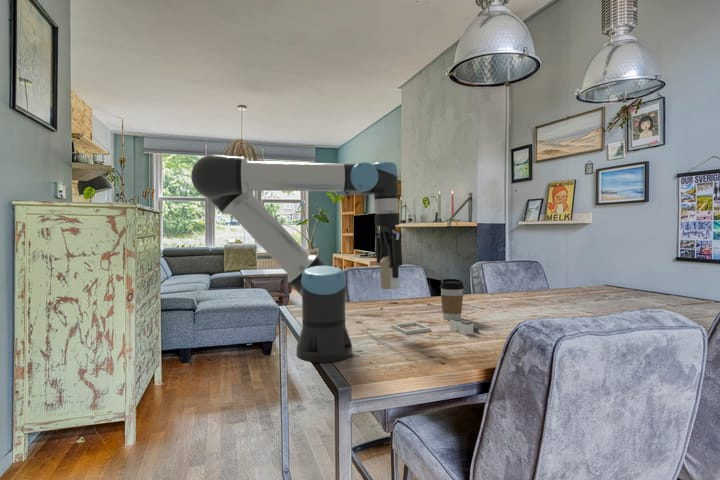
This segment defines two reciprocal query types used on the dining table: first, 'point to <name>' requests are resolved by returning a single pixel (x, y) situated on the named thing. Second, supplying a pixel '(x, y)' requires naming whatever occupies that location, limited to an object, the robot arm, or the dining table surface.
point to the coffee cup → (451, 298)
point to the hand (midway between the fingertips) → (389, 286)
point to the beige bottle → (385, 272)
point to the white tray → (423, 329)
